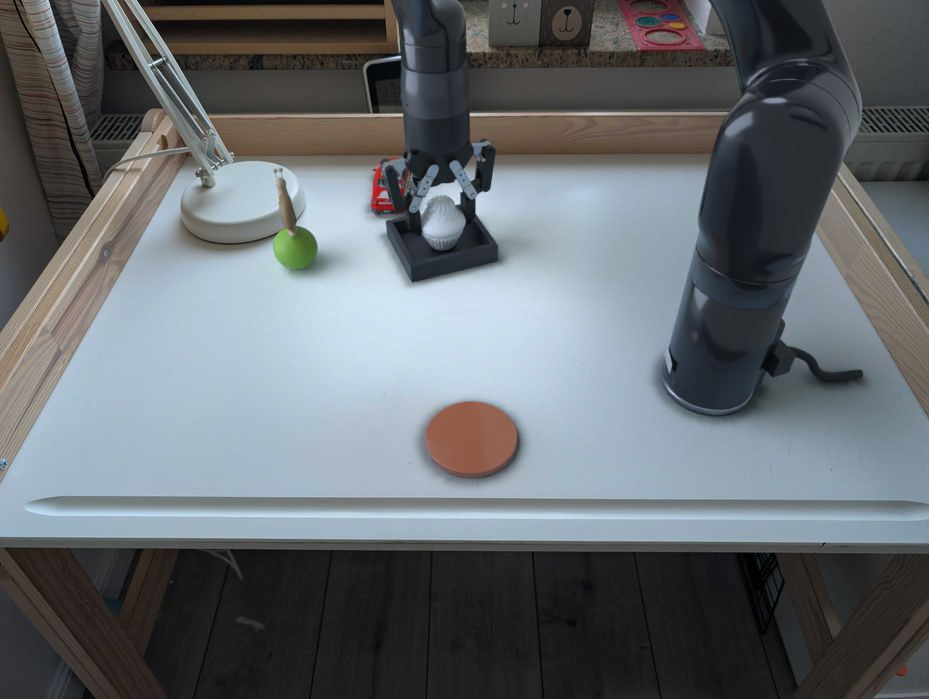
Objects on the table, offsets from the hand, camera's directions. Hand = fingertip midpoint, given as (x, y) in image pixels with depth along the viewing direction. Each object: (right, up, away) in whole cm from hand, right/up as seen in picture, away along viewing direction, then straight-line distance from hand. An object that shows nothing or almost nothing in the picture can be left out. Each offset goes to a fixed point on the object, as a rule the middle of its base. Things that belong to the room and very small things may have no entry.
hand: (441, 226), depth 91 cm
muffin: (0, -2, +2) cm, 3 cm away
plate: (+4, -25, -20) cm, 32 cm away
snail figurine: (-18, -5, +1) cm, 19 cm away
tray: (0, -2, +3) cm, 4 cm away
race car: (-7, +7, +12) cm, 16 cm away
